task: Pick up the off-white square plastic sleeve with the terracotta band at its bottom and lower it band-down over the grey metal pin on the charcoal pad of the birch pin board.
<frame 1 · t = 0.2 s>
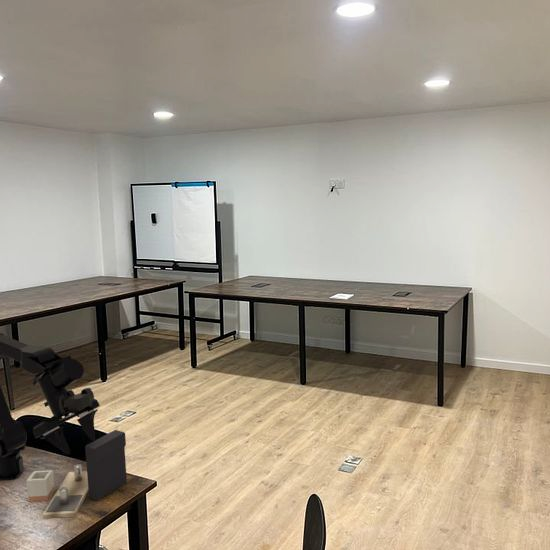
hand: (81, 446, 141), 14 cm above the table, tool tilted 30°, fingers open, 9 cm apart
pin board: (72, 494, 145), on the table
sleeve: (41, 496, 145), on the table
pins: (71, 484, 145), on the pin board, point 3 cm above the table
upright charcoal slab: (108, 490, 147), on the table
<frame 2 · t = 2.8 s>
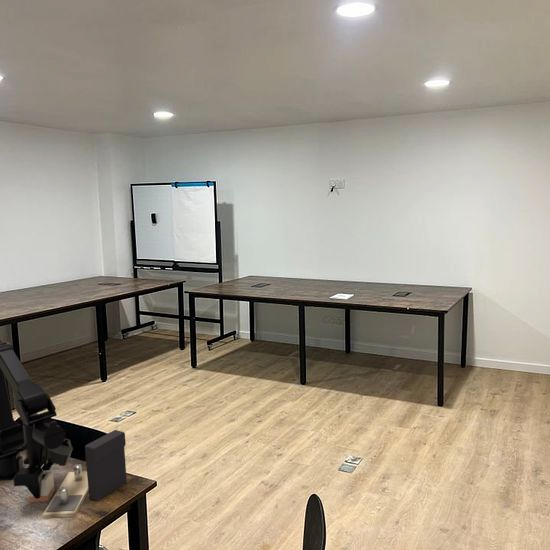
hand: (41, 492, 145), 1 cm above the table, tool pointing down, fingers closed on sleeve, 5 cm apart
sleeve: (41, 496, 145), on the table, touching gripper
everything else where it was.
when the fingers open (4 cm above the table, at t = 7.6 s): sleeve drops 2 cm, resting on pin board.
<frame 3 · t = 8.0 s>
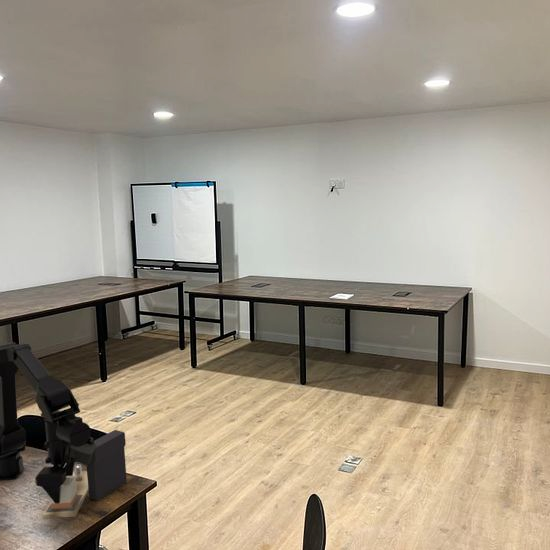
hand: (63, 492, 139), 4 cm above the table, tool pointing down, fingers open, 9 cm apart
sleeve: (64, 502, 139), point 1 cm above the table, touching pin board
everything else where it was.
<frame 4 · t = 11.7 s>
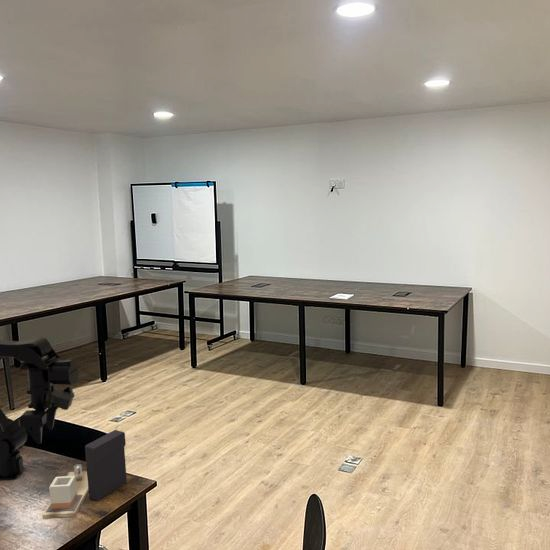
hand: (45, 436, 154), 12 cm above the table, tool pointing down, fingers open, 9 cm apart
nothing on the table moved.
at the end: sleeve 0.0 cm from the target spot on the pin board, point 1.2 cm above the pin board's base; sleeve tilted 0°; the gripper is holding nothing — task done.
